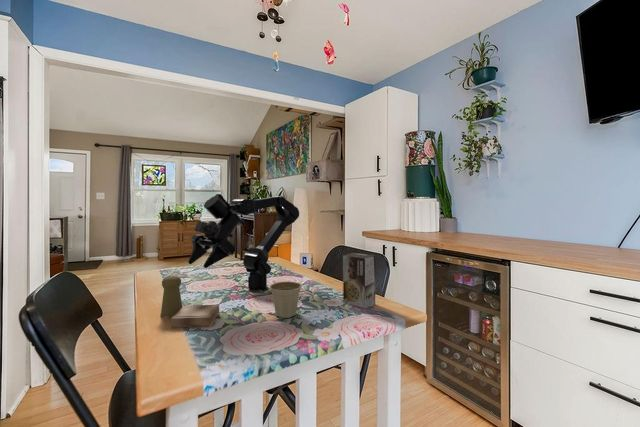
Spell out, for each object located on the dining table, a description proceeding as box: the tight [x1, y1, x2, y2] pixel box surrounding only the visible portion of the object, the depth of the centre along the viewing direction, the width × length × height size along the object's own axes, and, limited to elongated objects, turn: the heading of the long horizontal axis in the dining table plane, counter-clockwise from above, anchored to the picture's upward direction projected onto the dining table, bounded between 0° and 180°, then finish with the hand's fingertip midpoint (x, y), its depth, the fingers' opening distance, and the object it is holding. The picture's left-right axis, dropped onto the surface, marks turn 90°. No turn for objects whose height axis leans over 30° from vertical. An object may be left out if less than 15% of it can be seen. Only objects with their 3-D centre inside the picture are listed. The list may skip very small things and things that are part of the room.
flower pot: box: [269, 281, 302, 319], centre depth 90 cm, size 9×9×9 cm
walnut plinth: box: [170, 304, 220, 329], centre depth 85 cm, size 10×10×3 cm
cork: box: [160, 275, 183, 318], centre depth 90 cm, size 6×6×11 cm
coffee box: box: [342, 252, 376, 309], centre depth 100 cm, size 9×6×16 cm
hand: (196, 265), depth 96 cm, fingers open, 9 cm apart
